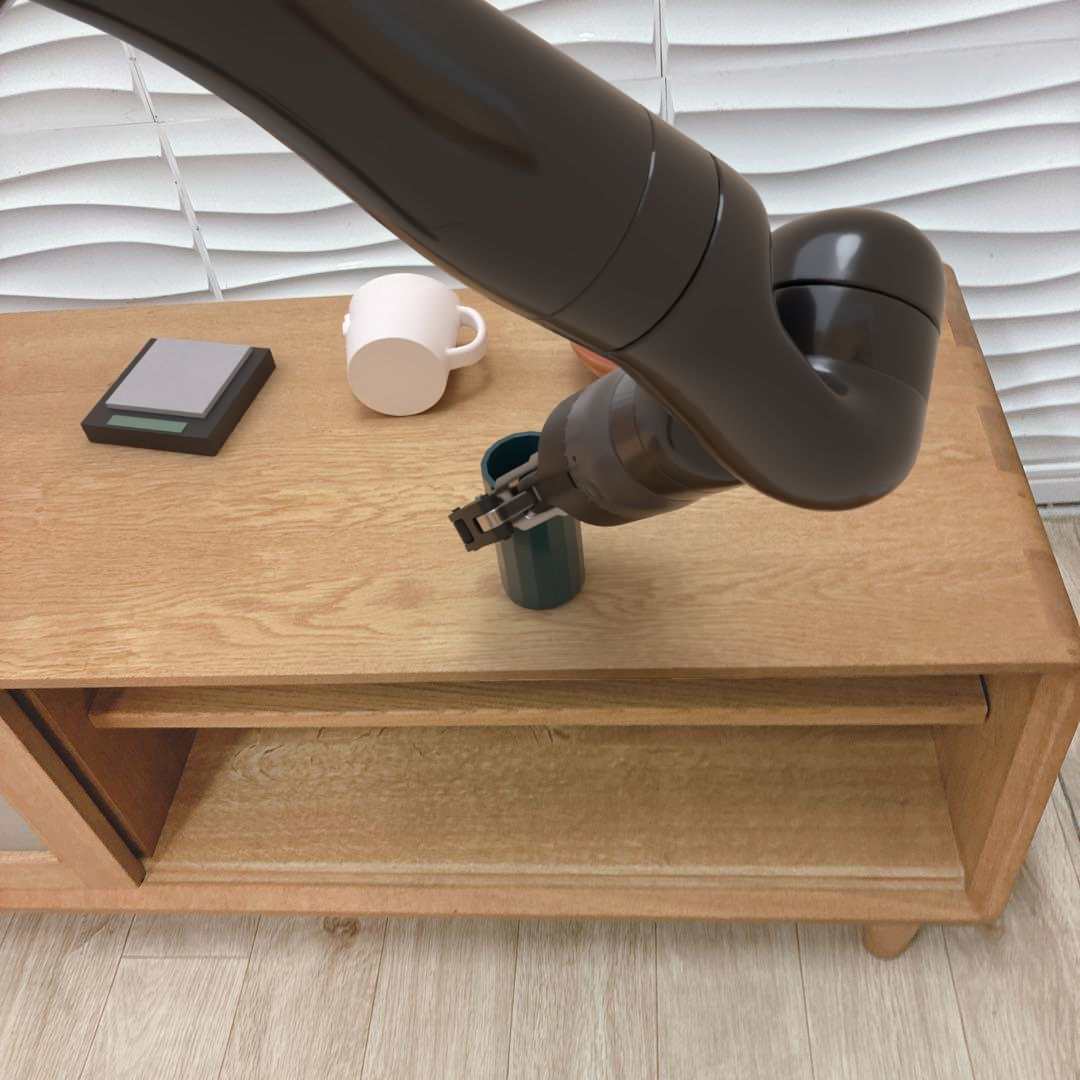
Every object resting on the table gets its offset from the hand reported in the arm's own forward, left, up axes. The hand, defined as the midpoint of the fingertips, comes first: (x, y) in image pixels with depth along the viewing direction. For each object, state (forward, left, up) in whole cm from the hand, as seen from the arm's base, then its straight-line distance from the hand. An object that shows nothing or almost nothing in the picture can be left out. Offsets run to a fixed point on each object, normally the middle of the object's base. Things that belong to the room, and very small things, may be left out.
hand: (529, 489), depth 69 cm
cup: (0, 0, -8) cm, 8 cm away
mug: (+20, +16, -9) cm, 27 cm away
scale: (+14, +36, -8) cm, 39 cm away
